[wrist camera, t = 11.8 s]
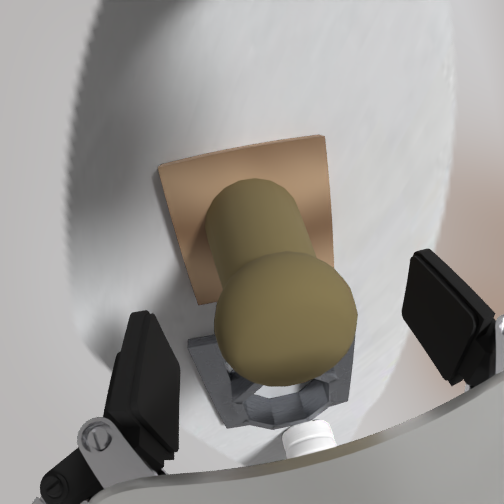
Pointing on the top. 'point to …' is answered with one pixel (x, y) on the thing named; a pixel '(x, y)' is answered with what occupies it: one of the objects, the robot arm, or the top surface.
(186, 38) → the top surface
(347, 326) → the cork
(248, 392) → the grey octagonal holder
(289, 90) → the top surface
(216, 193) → the coaster board
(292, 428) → the water bottle
